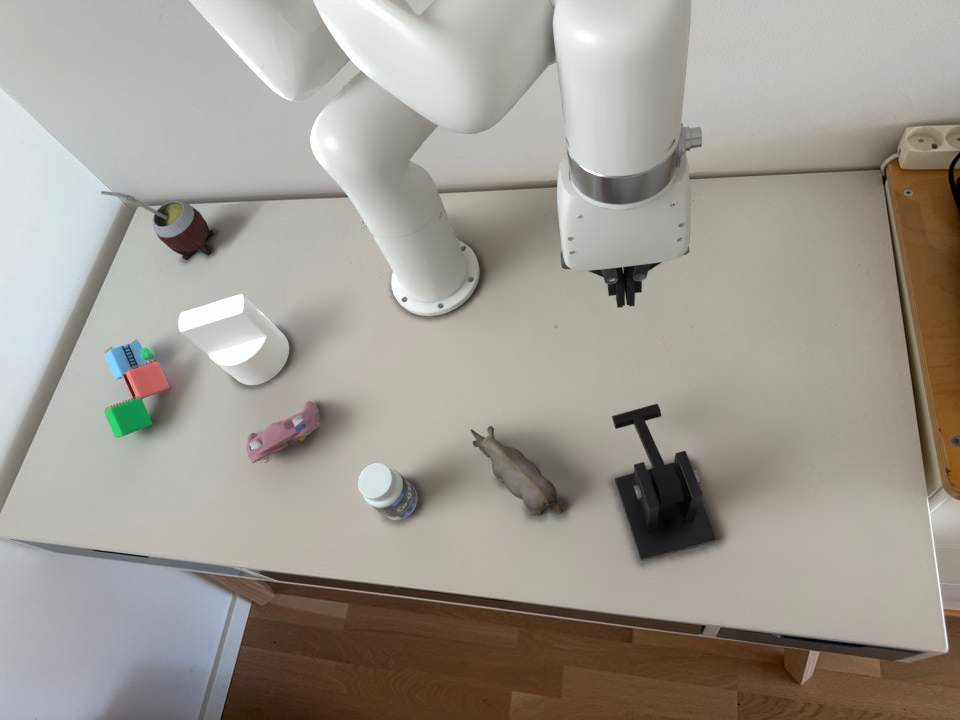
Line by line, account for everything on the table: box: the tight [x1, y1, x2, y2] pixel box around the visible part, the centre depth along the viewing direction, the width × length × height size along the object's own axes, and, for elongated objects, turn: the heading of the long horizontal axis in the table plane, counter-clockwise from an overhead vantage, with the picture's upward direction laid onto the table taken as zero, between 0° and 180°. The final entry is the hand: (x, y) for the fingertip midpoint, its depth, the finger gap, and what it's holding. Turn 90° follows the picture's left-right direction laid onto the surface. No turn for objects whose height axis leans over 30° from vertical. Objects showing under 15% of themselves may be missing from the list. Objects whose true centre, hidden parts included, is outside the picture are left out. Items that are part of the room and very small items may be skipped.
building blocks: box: [103, 338, 170, 439], centre depth 90 cm, size 8×8×12 cm
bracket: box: [614, 450, 717, 562], centre depth 66 cm, size 9×8×12 cm
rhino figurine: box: [470, 425, 564, 517], centre depth 73 cm, size 4×14×6 cm, turn 41°
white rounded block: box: [177, 293, 290, 386], centre depth 87 cm, size 9×9×12 cm
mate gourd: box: [100, 190, 215, 261], centre depth 98 cm, size 8×8×15 cm
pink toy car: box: [245, 400, 320, 464], centre depth 82 cm, size 10×5×7 cm, turn 117°
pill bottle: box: [357, 462, 418, 521], centre depth 74 cm, size 5×5×8 cm
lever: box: [611, 403, 684, 506], centre depth 66 cm, size 12×5×2 cm, turn 12°
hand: (624, 293), depth 61 cm, fingers closed
